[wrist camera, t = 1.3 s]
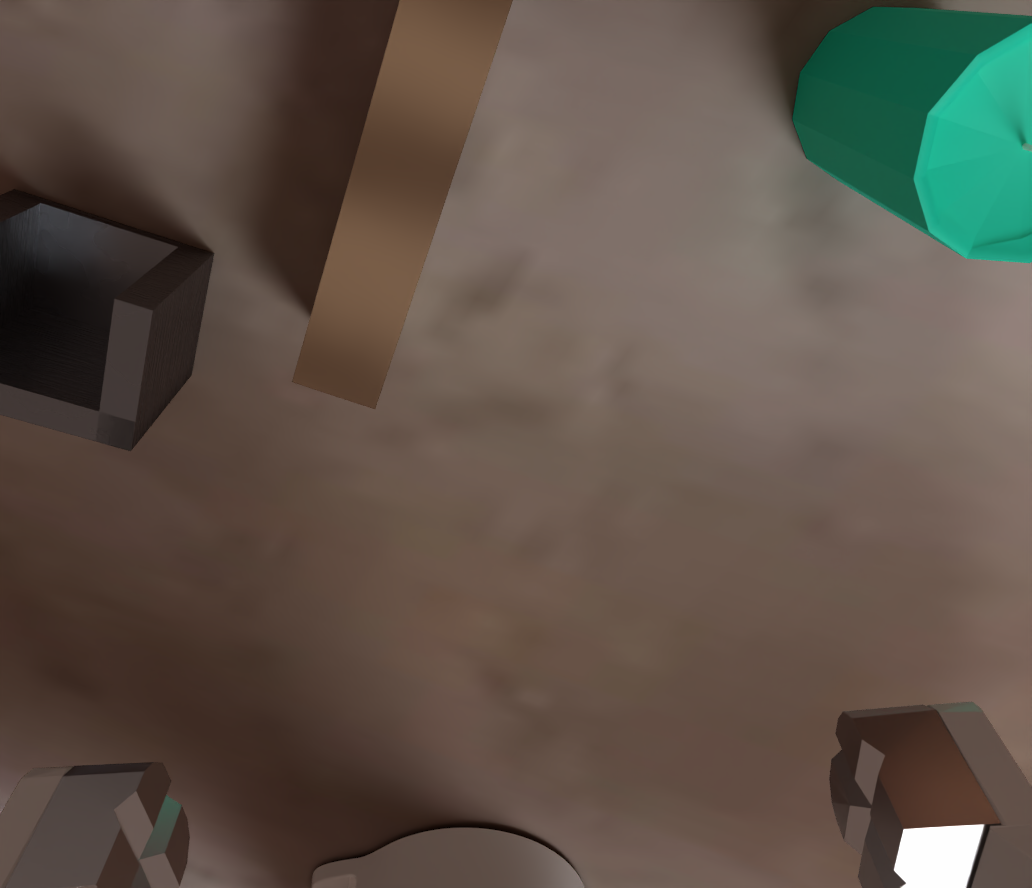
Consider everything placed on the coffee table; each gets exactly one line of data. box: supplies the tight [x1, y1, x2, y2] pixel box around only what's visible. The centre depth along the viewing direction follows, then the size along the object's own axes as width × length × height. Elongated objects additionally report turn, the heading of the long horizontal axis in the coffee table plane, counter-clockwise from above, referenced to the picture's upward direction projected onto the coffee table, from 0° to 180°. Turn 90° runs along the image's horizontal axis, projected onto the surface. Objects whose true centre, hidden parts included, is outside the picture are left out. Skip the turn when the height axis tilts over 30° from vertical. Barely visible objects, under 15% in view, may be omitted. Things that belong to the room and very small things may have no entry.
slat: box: [292, 0, 513, 409], centre depth 29 cm, size 16×3×6 cm, turn 159°
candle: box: [792, 7, 1032, 263], centre depth 26 cm, size 6×6×12 cm
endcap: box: [0, 189, 214, 451], centre depth 31 cm, size 5×7×6 cm
